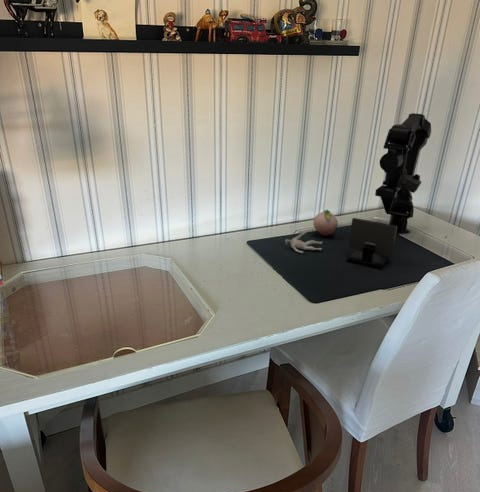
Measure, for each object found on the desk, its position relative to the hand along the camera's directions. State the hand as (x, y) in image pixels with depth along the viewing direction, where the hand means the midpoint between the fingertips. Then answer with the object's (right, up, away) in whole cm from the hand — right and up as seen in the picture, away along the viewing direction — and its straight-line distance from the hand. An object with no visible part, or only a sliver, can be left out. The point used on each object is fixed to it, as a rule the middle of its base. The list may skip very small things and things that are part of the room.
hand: (388, 212), depth 166 cm
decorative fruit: (-20, -7, +12) cm, 24 cm away
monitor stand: (-9, -17, -8) cm, 21 cm away
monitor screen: (-9, -14, -9) cm, 19 cm away
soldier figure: (-29, -13, -1) cm, 32 cm away
